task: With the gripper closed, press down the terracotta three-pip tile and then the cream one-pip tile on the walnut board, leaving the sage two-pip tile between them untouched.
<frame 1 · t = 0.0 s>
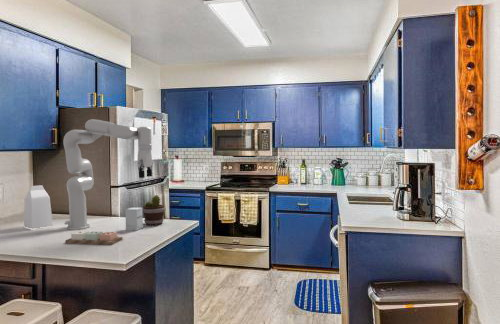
hand: (145, 177, 209), 31 cm above the countertop, fingers open, 9 cm apart
flowerpot: (154, 224, 227), on the countertop
board: (94, 241, 185), on the countertop
tile two: (94, 235, 184), point 3 cm above the countertop, slide at 0.0 cm
supplement box: (134, 229, 212), on the countertop
tile three: (108, 236, 183), point 3 cm above the countertop, slide at 0.0 cm
milk: (38, 227, 222), on the countertop
tile one: (80, 235, 186), point 3 cm above the countertop, slide at 0.0 cm
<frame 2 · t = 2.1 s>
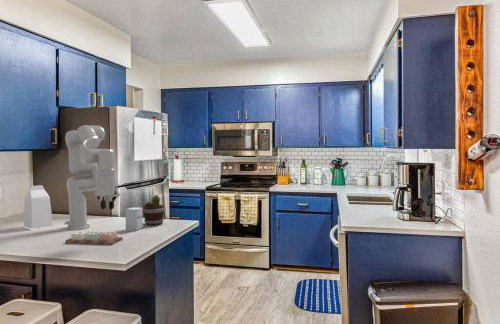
hand: (107, 208, 183), 17 cm above the countertop, fingers open, 3 cm apart
nothing on the countertop moved.
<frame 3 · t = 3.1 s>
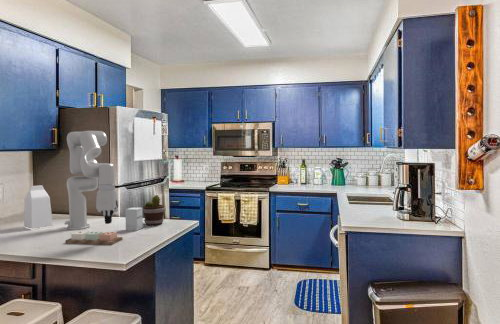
hand: (108, 223, 182), 10 cm above the countertop, fingers closed
nothing on the countertop moved.
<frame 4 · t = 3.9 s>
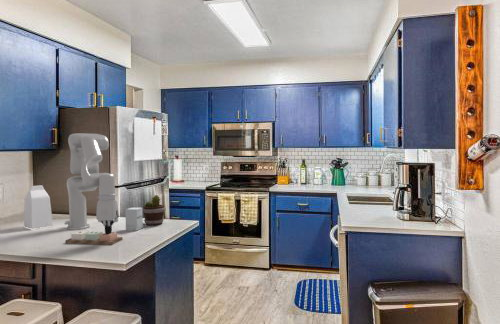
hand: (108, 233, 183), 5 cm above the countertop, fingers closed
tile three: (108, 236, 183), point 3 cm above the countertop, slide at 0.2 cm, touching gripper
everything else where it was.
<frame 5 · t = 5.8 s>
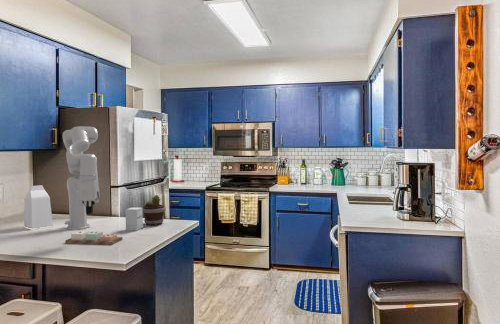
hand: (89, 213, 185), 14 cm above the countertop, fingers closed
tile three: (108, 238, 183), point 2 cm above the countertop, slide at 1.1 cm
everything else where it was.
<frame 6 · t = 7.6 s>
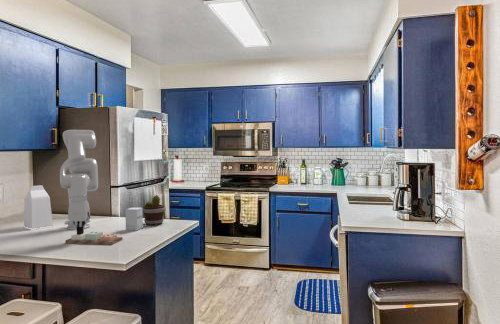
hand: (80, 233, 186), 4 cm above the countertop, fingers closed
tile one: (80, 236, 186), point 2 cm above the countertop, slide at 0.9 cm, touching gripper
everything else where it was.
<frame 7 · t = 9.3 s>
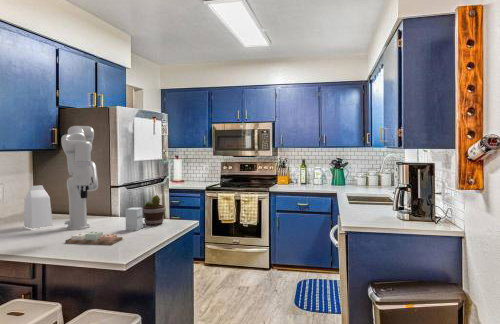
hand: (84, 197, 192), 22 cm above the countertop, fingers closed
tile one: (80, 237, 186), point 2 cm above the countertop, slide at 1.1 cm
everything else where it was.
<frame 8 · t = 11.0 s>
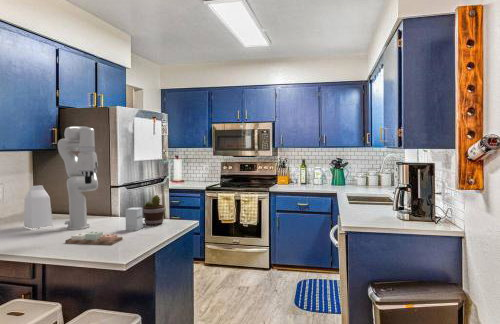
hand: (88, 183, 196), 29 cm above the countertop, fingers closed
nothing on the countertop moved.
at the end: tile three slide at 1.1 cm; tile one slide at 1.1 cm; tile two slide at 0.0 cm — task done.
